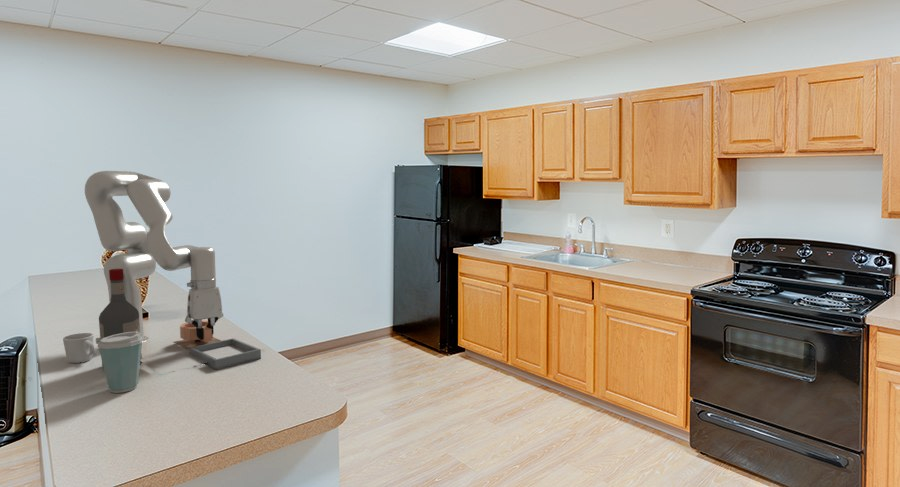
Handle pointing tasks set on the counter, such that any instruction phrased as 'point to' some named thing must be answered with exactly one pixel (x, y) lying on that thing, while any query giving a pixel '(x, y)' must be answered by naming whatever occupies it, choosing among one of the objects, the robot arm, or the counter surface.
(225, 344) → the gray rectangular frame
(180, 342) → the post stand
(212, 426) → the counter surface
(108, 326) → the liquor
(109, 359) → the disposable coffee cup
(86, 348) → the cup
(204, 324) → the ring
